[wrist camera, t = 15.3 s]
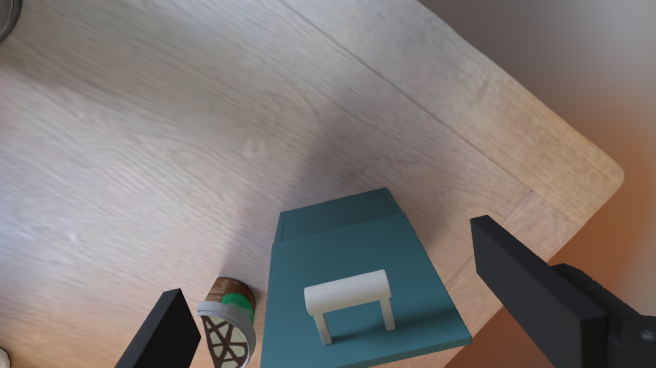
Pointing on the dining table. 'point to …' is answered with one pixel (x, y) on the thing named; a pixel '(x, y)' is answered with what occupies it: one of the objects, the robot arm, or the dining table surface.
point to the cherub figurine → (4, 360)
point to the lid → (356, 299)
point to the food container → (229, 323)
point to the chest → (336, 214)
